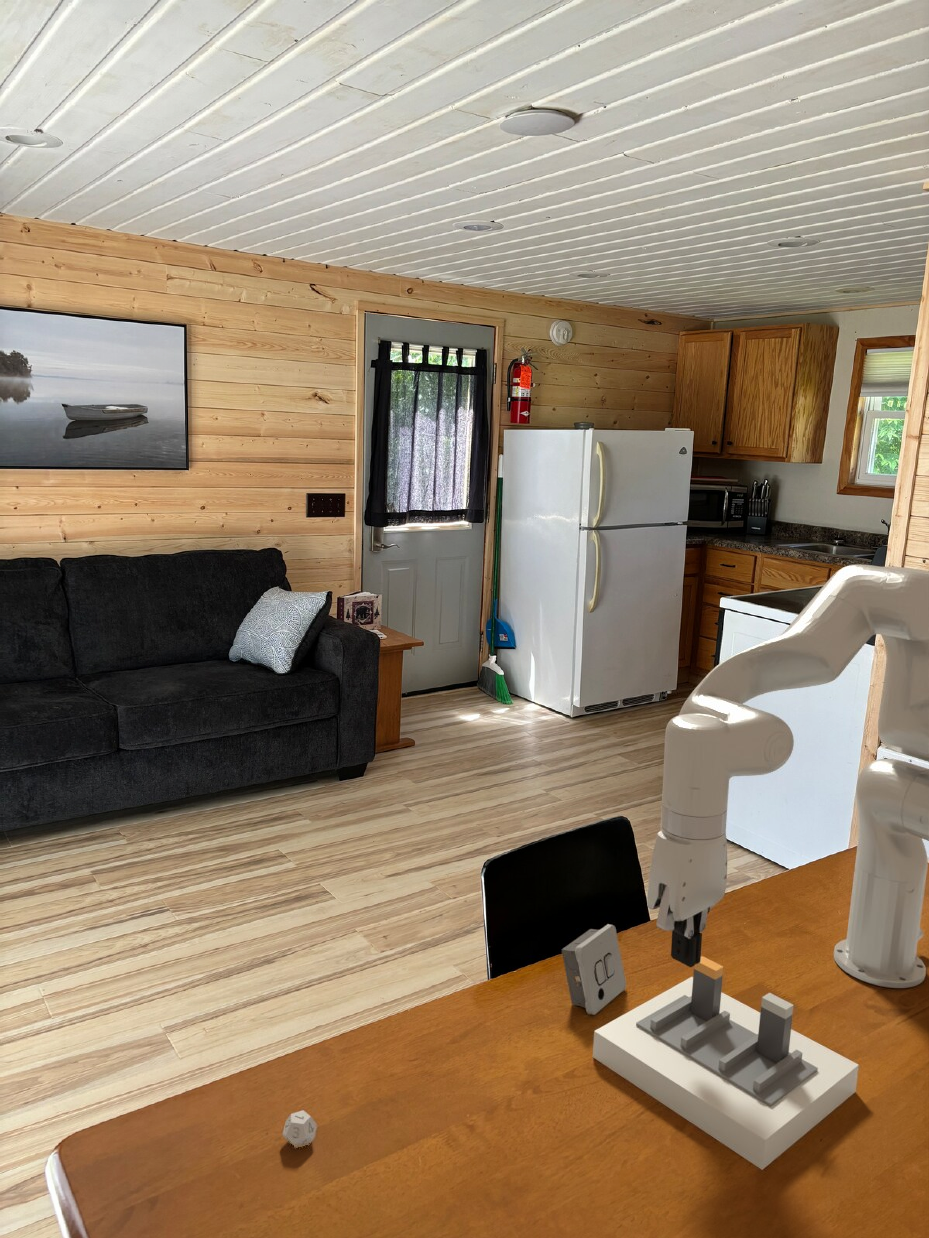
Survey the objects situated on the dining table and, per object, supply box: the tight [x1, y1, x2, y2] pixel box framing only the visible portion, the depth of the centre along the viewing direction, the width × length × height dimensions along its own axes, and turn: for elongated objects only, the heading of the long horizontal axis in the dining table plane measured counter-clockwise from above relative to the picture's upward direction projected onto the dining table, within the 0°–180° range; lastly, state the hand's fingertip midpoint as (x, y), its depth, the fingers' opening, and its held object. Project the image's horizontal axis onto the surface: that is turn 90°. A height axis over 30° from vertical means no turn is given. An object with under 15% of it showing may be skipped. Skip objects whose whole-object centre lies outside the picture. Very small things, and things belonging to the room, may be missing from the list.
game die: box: [282, 1109, 318, 1148], centre depth 104 cm, size 4×4×3 cm
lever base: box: [592, 976, 860, 1170], centre depth 116 cm, size 20×24×11 cm
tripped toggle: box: [690, 955, 724, 1021], centre depth 122 cm, size 2×3×7 cm, turn 41°
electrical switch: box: [561, 923, 627, 1015], centre depth 132 cm, size 9×5×9 cm, turn 141°
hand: (685, 960), depth 117 cm, fingers closed
